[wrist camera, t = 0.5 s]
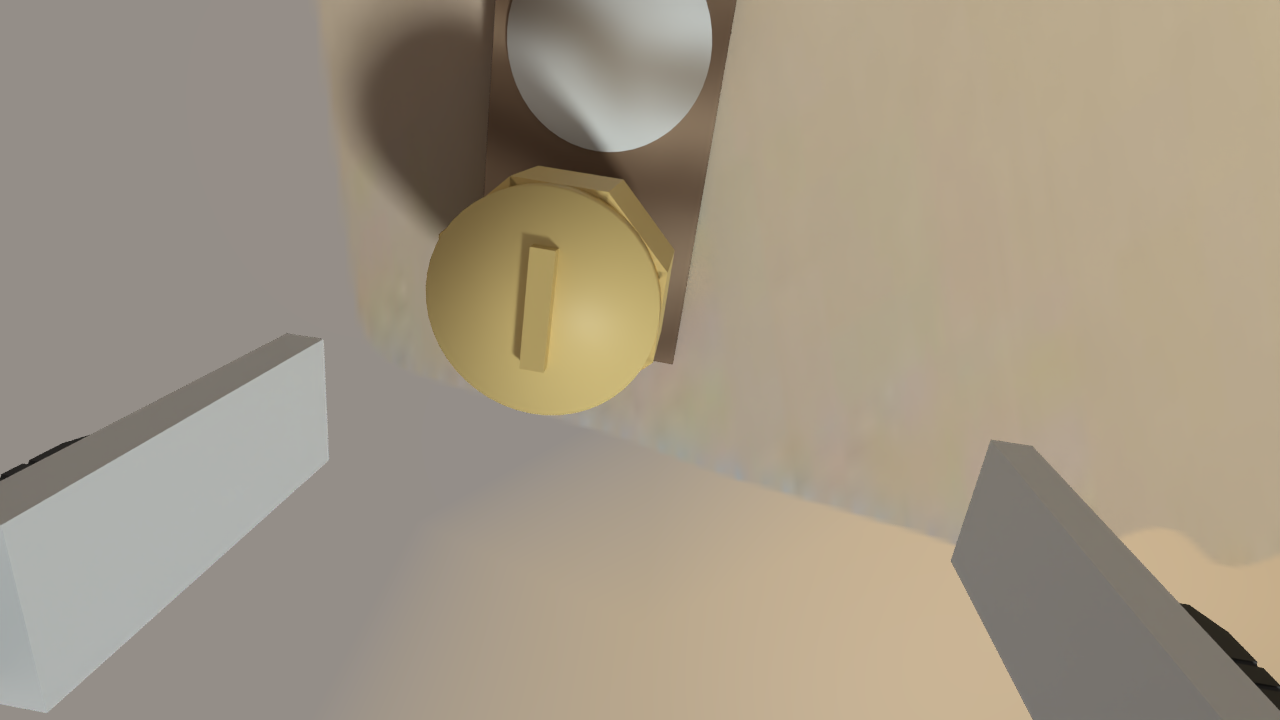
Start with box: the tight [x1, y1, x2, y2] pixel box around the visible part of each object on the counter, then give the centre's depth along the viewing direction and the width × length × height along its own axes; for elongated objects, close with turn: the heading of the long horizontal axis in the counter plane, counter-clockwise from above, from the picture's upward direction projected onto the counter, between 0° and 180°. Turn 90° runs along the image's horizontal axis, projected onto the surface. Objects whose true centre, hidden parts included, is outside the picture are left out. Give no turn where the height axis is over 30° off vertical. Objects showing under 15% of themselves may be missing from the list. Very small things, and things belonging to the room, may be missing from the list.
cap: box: [426, 166, 675, 415], centre depth 30 cm, size 9×9×6 cm
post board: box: [484, 0, 736, 364], centre depth 31 cm, size 20×11×9 cm, turn 172°
